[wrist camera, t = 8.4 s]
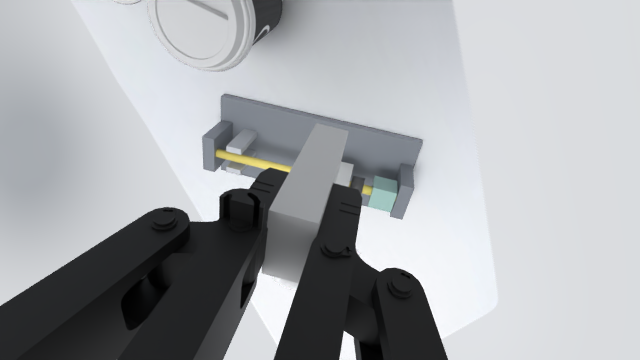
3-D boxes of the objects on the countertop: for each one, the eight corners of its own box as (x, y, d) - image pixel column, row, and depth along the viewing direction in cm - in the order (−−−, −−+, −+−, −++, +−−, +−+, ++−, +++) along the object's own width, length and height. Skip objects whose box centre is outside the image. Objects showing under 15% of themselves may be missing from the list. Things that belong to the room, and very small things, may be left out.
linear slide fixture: (224, 165, 53) (201, 191, 47) (224, 93, 47) (197, 112, 41) (396, 209, 51) (396, 241, 45) (421, 139, 45) (425, 166, 38)
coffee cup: (311, 5, 39) (269, 20, 26) (261, 63, 44) (206, 98, 31) (249, -65, 37) (172, -85, 24) (204, 4, 41) (119, 17, 29)
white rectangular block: (320, 179, 47) (308, 210, 41) (324, 157, 45) (313, 186, 39) (348, 186, 47) (340, 218, 40) (353, 164, 45) (346, 195, 38)
